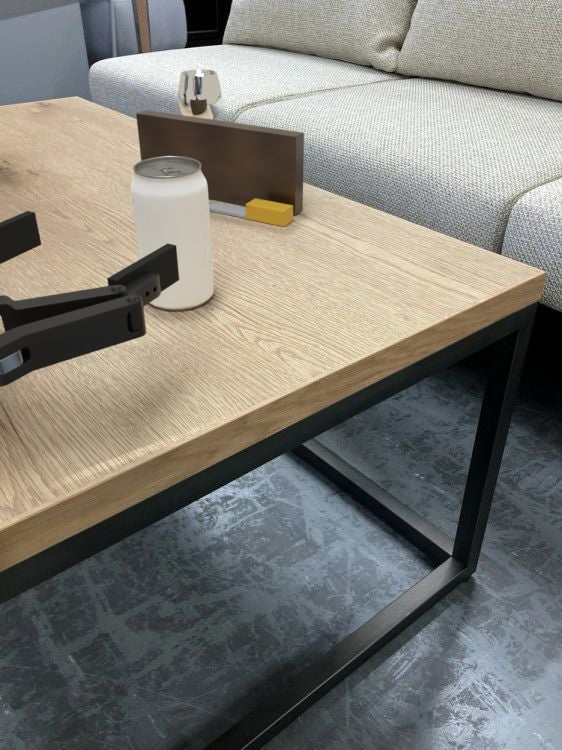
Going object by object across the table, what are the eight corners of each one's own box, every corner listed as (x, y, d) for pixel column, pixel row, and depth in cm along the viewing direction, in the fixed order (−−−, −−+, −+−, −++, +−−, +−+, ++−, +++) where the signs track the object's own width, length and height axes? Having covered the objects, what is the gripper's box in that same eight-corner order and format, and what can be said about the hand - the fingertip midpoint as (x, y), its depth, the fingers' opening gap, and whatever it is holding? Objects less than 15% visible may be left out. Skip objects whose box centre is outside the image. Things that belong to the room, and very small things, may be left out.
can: (194, 274, 68) (184, 150, 62) (227, 300, 64) (220, 169, 57) (132, 291, 65) (115, 162, 59) (162, 319, 61) (147, 183, 54)
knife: (206, 210, 83) (205, 196, 82) (216, 205, 84) (215, 190, 83) (284, 226, 78) (284, 211, 77) (293, 220, 80) (293, 205, 79)
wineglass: (233, 165, 97) (230, 72, 91) (201, 174, 94) (195, 79, 87) (206, 156, 101) (201, 66, 94) (175, 165, 97) (167, 72, 91)
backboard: (143, 185, 90) (135, 113, 85) (153, 181, 92) (145, 109, 87) (295, 215, 81) (296, 136, 76) (302, 210, 83) (304, 132, 78)
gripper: (-265, 377, 45) (-6, 257, 60) (19, 511, 35) (242, 325, 50) (-320, 269, 41) (-27, 170, 56) (-17, 386, 31) (238, 226, 46)
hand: (101, 243), depth 53 cm, fingers open, 13 cm apart
